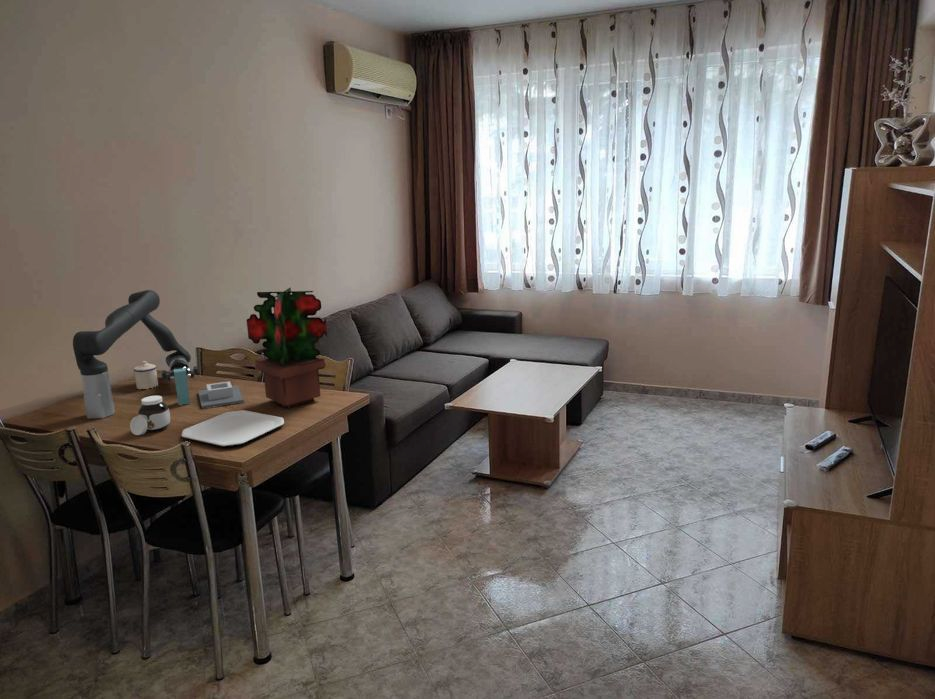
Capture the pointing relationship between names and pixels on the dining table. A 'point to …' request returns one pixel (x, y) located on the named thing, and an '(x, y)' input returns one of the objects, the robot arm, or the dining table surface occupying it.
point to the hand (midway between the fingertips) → (180, 377)
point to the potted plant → (289, 345)
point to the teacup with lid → (145, 375)
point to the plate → (233, 428)
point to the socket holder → (220, 395)
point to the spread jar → (151, 416)
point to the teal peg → (181, 386)
